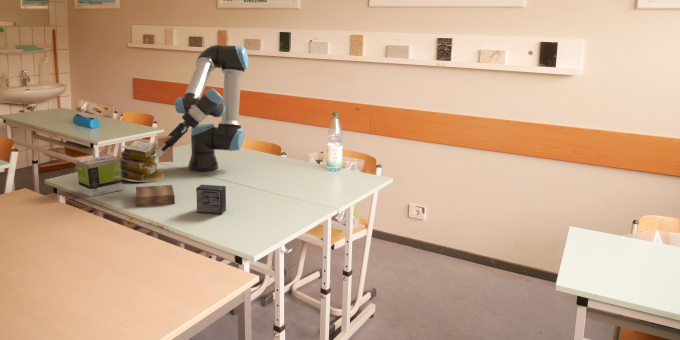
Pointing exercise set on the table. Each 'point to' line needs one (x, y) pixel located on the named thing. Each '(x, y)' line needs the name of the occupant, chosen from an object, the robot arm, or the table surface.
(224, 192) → the small box
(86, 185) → the tea box
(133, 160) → the stacked packets on plate
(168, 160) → the terracotta block
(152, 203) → the walnut plinth
